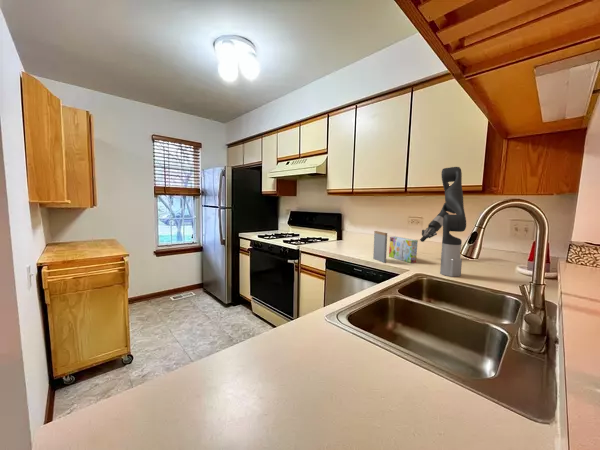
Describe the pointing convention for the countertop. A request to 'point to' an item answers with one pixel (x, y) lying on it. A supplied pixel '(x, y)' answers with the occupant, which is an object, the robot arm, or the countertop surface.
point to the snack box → (403, 249)
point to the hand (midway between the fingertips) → (421, 240)
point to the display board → (380, 246)
